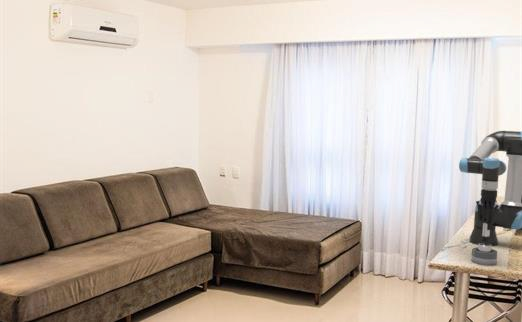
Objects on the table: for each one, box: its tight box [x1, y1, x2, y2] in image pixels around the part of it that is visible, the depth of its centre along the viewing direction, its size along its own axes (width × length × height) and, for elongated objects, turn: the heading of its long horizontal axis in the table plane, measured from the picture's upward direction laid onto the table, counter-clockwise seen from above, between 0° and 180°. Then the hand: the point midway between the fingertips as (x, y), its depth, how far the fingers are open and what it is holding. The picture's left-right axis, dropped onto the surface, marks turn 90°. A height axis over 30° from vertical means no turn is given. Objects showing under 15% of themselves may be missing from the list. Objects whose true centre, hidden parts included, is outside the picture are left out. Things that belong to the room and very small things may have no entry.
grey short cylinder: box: [470, 247, 498, 267], centre depth 292 cm, size 12×12×6 cm
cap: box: [477, 242, 492, 252], centre depth 292 cm, size 6×6×6 cm
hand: (485, 235), depth 291 cm, fingers closed
